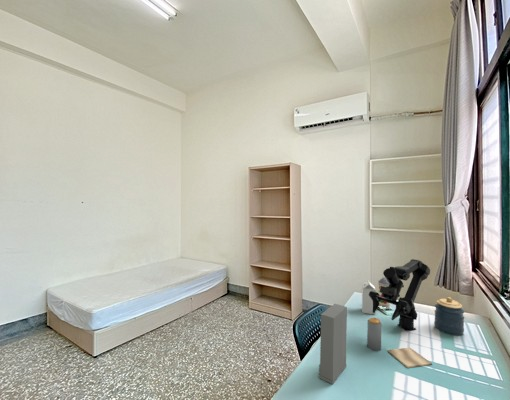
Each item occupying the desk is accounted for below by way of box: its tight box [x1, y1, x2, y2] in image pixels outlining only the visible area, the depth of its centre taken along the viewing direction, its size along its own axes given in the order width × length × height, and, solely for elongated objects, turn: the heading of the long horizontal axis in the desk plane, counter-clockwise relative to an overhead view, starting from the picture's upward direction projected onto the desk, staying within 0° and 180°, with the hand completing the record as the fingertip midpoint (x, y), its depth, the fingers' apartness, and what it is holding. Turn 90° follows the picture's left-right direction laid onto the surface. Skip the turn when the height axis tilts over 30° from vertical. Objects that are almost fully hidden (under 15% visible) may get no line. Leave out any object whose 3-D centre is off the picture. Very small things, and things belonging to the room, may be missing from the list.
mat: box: [387, 347, 433, 369], centre depth 116 cm, size 12×12×1 cm
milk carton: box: [361, 279, 376, 315], centre depth 164 cm, size 7×7×19 cm
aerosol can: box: [377, 276, 391, 309], centre depth 169 cm, size 7×7×20 cm
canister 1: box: [366, 317, 383, 352], centre depth 124 cm, size 6×6×13 cm
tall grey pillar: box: [317, 303, 348, 385], centre depth 106 cm, size 14×6×25 cm, turn 141°
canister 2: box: [433, 296, 465, 336], centre depth 142 cm, size 13×13×18 cm
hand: (382, 316), depth 128 cm, fingers open, 9 cm apart
